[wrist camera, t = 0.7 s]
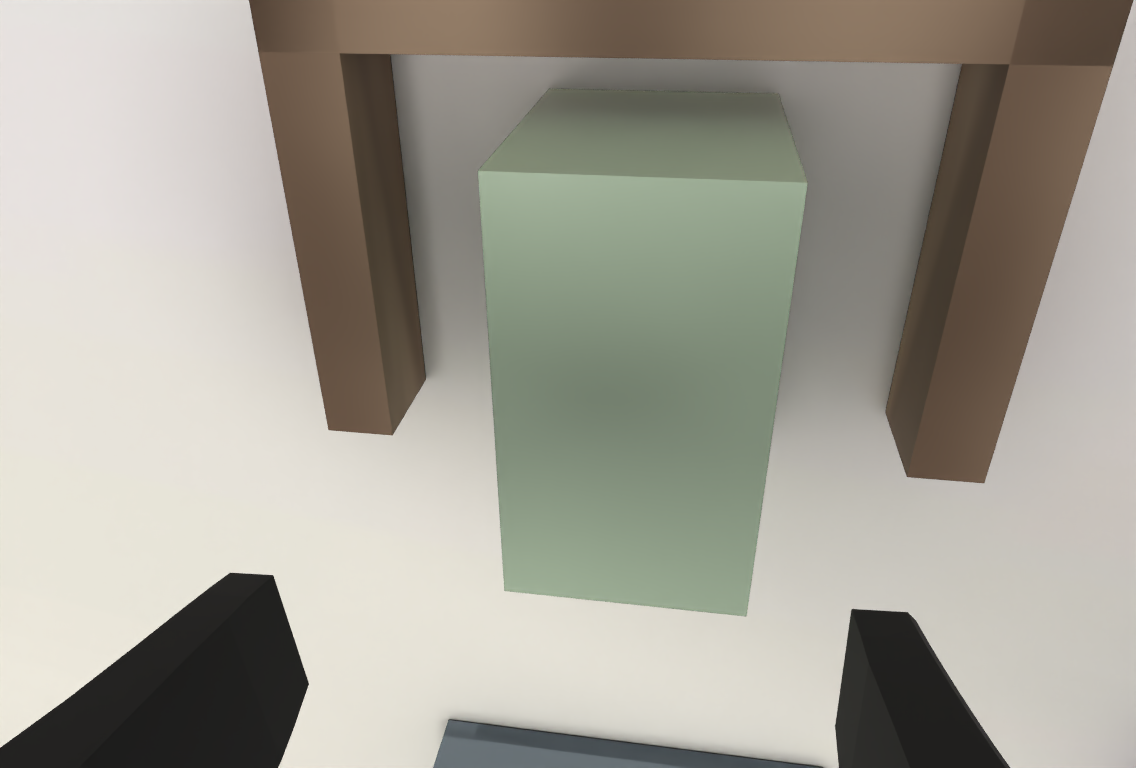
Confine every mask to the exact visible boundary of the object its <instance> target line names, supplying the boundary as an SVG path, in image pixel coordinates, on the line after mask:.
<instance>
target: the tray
mask: <svg viewBox="0 0 1136 768" xmlns="http://www.w3.org/2000/svg"><path fill="white" fill-rule="evenodd" d="M433 768H821V767H813V766H805V765H797V764H789V763H782V762H774V761H766V760H758V759H750V758H742V757H735V756H727V755H719V754H711V753H703V752H695V751H688V750H680V749H672V748H664V747H656V746H649V745H641V744H633V743H625V742H617V741H609V740H602V739H594V738H586V737H578V736H570V735H562V734H555V733H547V732H539V731H531V730H523V729H516V728H508V727H500V726H492V725H484V724H476V723H469V722H461V721H453V720H448V723H447V726H446V730H445V733H444V736H443V739H442V742H441V745H440V748H439V751H438V754H437V757H436V761H435V764H434V767H433Z"/></svg>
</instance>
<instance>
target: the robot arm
mask: <svg viewBox="0 0 1136 768" xmlns="http://www.w3.org/2000/svg"><path fill="white" fill-rule="evenodd" d="M308 685H309V683H308V680H307V677H306V674H305V671H304V668H303V665H302V662H301V659H300V655H299V652H298V649H297V646H296V643H295V640H294V637H293V634H292V631H291V628H290V625H289V622H288V619H287V616H286V613H285V610H284V607H283V604H282V601H281V598H280V595H279V592H278V589H277V586H276V583H275V579H274V576H273V575H259V574H242V573H229V574H228V575H227V576H225V577H224V578H222V579H221V580H220V581H218V582H217V583H216V584H214V585H213V586H212V587H210V588H209V589H208V590H206V591H205V592H204V593H202V594H201V595H200V596H198V597H197V598H196V599H195V600H193V601H192V602H191V603H189V604H188V605H187V606H186V607H184V608H183V609H182V610H181V611H179V612H178V613H177V614H175V615H174V616H173V617H172V618H170V619H169V620H168V621H167V622H165V623H164V624H163V625H162V626H160V627H159V628H158V629H156V630H155V631H154V632H153V633H151V634H150V635H149V636H148V637H146V638H145V639H144V640H143V641H141V642H140V643H139V644H138V645H136V646H135V647H134V648H132V649H131V650H130V651H129V652H127V653H126V654H125V655H123V656H122V657H121V658H120V659H118V660H117V661H116V662H114V663H113V664H112V665H111V666H109V667H108V668H107V669H105V670H104V671H103V672H102V673H100V674H99V675H98V676H96V677H95V678H94V679H93V680H91V681H90V682H89V683H87V684H86V685H85V686H84V687H82V688H81V689H80V690H78V691H77V692H76V693H75V694H73V695H72V696H71V697H69V698H68V699H67V700H65V701H64V702H63V703H61V704H60V705H58V706H57V707H56V708H54V709H53V710H52V711H50V712H49V713H47V714H46V715H45V716H43V717H42V718H41V719H39V720H38V721H36V722H35V723H34V724H32V725H31V726H30V727H28V728H27V729H25V730H24V731H23V732H21V733H20V734H19V735H17V736H16V737H14V738H13V739H12V740H10V741H9V742H8V743H6V744H5V745H3V746H2V747H1V748H0V768H278V766H279V764H280V762H281V760H282V757H283V755H284V752H285V749H286V747H287V744H288V742H289V739H290V736H291V734H292V731H293V728H294V726H295V723H296V720H297V717H298V714H299V711H300V708H301V705H302V702H303V699H304V696H305V694H306V691H307V688H308ZM835 729H836V740H837V751H838V762H839V768H1010V767H1009V765H1008V764H1007V763H1006V761H1005V760H1004V758H1003V757H1002V755H1001V754H1000V753H999V751H998V750H997V748H996V747H995V746H994V744H993V743H992V741H991V740H990V738H989V737H988V735H987V734H986V732H985V731H984V729H983V728H982V726H981V725H980V723H979V722H978V720H977V719H976V717H975V716H974V714H973V713H972V711H971V710H970V708H969V707H968V705H967V704H966V702H965V700H964V699H963V697H962V696H961V694H960V693H959V691H958V690H957V688H956V687H955V685H954V683H953V682H952V680H951V679H950V677H949V675H948V674H947V672H946V671H945V669H944V667H943V666H942V664H941V662H940V661H939V659H938V658H937V656H936V654H935V653H934V651H933V649H932V648H931V646H930V644H929V642H928V641H927V639H926V637H925V636H924V634H923V632H922V630H921V629H920V627H919V625H918V623H917V622H916V620H915V619H914V618H913V617H912V616H911V615H910V614H909V613H908V612H892V611H875V610H858V609H852V610H851V617H850V624H849V632H848V639H847V646H846V653H845V660H844V668H843V675H842V682H841V689H840V696H839V704H838V711H837V718H836V725H835Z"/></svg>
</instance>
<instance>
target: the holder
mask: <svg viewBox="0 0 1136 768" xmlns="http://www.w3.org/2000/svg"><path fill="white" fill-rule="evenodd" d="M249 3H250V8H251V14H252V19H253V25H254V30H255V35H256V41H257V46H258V52H259V57H260V62H261V68H262V73H263V79H264V84H265V89H266V95H267V100H268V106H269V111H270V116H271V122H272V127H273V133H274V138H275V143H276V149H277V154H278V160H279V165H280V170H281V176H282V181H283V187H284V192H285V197H286V203H287V208H288V214H289V219H290V224H291V230H292V235H293V241H294V246H295V251H296V257H297V262H298V268H299V273H300V278H301V284H302V289H303V295H304V300H305V305H306V311H307V316H308V322H309V327H310V332H311V338H312V343H313V349H314V354H315V359H316V365H317V370H318V376H319V381H320V386H321V392H322V397H323V403H324V408H325V413H326V419H327V424H328V430H334V431H346V432H358V433H371V434H383V435H393V434H394V432H395V430H396V429H397V427H398V425H399V424H400V422H401V420H402V419H403V417H404V415H405V414H406V412H407V410H408V408H409V407H410V405H411V403H412V402H413V400H414V398H415V397H416V395H417V393H418V392H419V390H420V388H421V387H422V385H423V383H424V382H425V380H426V377H425V368H424V359H423V350H422V341H421V331H420V322H419V313H418V304H417V295H416V286H415V277H414V268H413V259H412V249H411V240H410V231H409V222H408V213H407V204H406V195H405V186H404V177H403V167H402V158H401V149H400V140H399V131H398V122H397V113H396V104H395V94H394V85H393V76H392V67H391V58H390V54H416V55H476V56H535V57H595V58H654V59H714V60H773V61H833V62H892V63H952V64H962V68H961V73H960V77H959V82H958V86H957V91H956V95H955V100H954V104H953V109H952V114H951V118H950V123H949V127H948V132H947V136H946V141H945V145H944V150H943V154H942V159H941V163H940V168H939V172H938V177H937V181H936V186H935V190H934V195H933V199H932V204H931V208H930V213H929V217H928V222H927V227H926V231H925V236H924V240H923V245H922V249H921V254H920V258H919V263H918V267H917V272H916V276H915V281H914V285H913V290H912V294H911V299H910V303H909V308H908V312H907V317H906V321H905V326H904V330H903V335H902V339H901V344H900V349H899V353H898V358H897V362H896V367H895V371H894V376H893V380H892V385H891V389H890V394H889V398H888V403H887V407H886V412H885V413H886V416H887V419H888V422H889V425H890V428H891V431H892V434H893V437H894V440H895V443H896V446H897V449H898V452H899V455H900V458H901V461H902V464H903V467H904V470H905V472H906V475H907V477H914V478H926V479H938V480H951V481H963V482H975V483H984V482H985V479H986V476H987V472H988V469H989V466H990V463H991V459H992V456H993V453H994V450H995V446H996V443H997V440H998V437H999V434H1000V430H1001V427H1002V424H1003V421H1004V417H1005V414H1006V411H1007V408H1008V404H1009V401H1010V398H1011V395H1012V391H1013V388H1014V385H1015V382H1016V379H1017V375H1018V372H1019V369H1020V366H1021V362H1022V359H1023V356H1024V353H1025V349H1026V346H1027V343H1028V340H1029V336H1030V333H1031V330H1032V327H1033V323H1034V320H1035V317H1036V314H1037V311H1038V307H1039V304H1040V301H1041V298H1042V294H1043V291H1044V288H1045V285H1046V281H1047V278H1048V275H1049V272H1050V268H1051V265H1052V262H1053V259H1054V255H1055V252H1056V249H1057V246H1058V243H1059V239H1060V236H1061V233H1062V230H1063V226H1064V223H1065V220H1066V217H1067V213H1068V210H1069V207H1070V204H1071V200H1072V197H1073V194H1074V191H1075V187H1076V184H1077V181H1078V178H1079V175H1080V171H1081V168H1082V165H1083V162H1084V158H1085V155H1086V152H1087V149H1088V145H1089V142H1090V139H1091V136H1092V132H1093V129H1094V126H1095V123H1096V120H1097V116H1098V113H1099V110H1100V107H1101V103H1102V100H1103V97H1104V94H1105V90H1106V87H1107V84H1108V81H1109V77H1110V74H1111V71H1112V68H1113V64H1114V61H1115V58H1116V55H1117V52H1118V48H1119V45H1120V42H1121V39H1122V35H1123V32H1124V29H1125V26H1126V22H1127V19H1128V16H1129V13H1130V9H1131V6H1132V3H1133V0H249Z"/></svg>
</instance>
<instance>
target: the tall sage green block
mask: <svg viewBox="0 0 1136 768" xmlns="http://www.w3.org/2000/svg"><path fill="white" fill-rule="evenodd" d="M478 180H479V196H480V212H481V228H482V244H483V259H484V275H485V291H486V307H487V323H488V339H489V354H490V370H491V386H492V402H493V418H494V434H495V449H496V465H497V481H498V497H499V513H500V528H501V544H502V560H503V576H504V591H510V592H520V593H529V594H538V595H548V596H557V597H567V598H576V599H586V600H595V601H605V602H614V603H624V604H633V605H643V606H652V607H662V608H671V609H681V610H690V611H699V612H709V613H718V614H728V615H737V616H747V609H748V602H749V595H750V588H751V581H752V574H753V566H754V559H755V552H756V545H757V538H758V531H759V524H760V517H761V510H762V503H763V496H764V489H765V482H766V474H767V467H768V460H769V453H770V446H771V439H772V432H773V425H774V418H775V411H776V404H777V397H778V390H779V383H780V375H781V368H782V361H783V354H784V347H785V340H786V333H787V326H788V319H789V312H790V305H791V298H792V291H793V284H794V276H795V269H796V262H797V255H798V248H799V241H800V234H801V227H802V220H803V213H804V206H805V199H806V192H807V185H808V182H807V179H806V176H805V173H804V170H803V167H802V164H801V161H800V158H799V155H798V152H797V149H796V146H795V143H794V140H793V137H792V134H791V131H790V128H789V125H788V122H787V119H786V116H785V113H784V110H783V107H782V104H781V101H780V98H779V95H778V94H775V93H730V92H685V91H640V90H594V89H549V90H548V91H547V92H546V93H545V94H544V95H543V97H542V98H541V99H540V100H539V101H538V102H537V103H536V105H535V106H534V107H533V108H532V109H531V110H530V112H529V113H528V114H527V115H526V116H525V117H524V118H523V120H522V121H521V122H520V123H519V124H518V125H517V126H516V128H515V129H514V130H513V131H512V132H511V133H510V135H509V136H508V137H507V138H506V139H505V140H504V141H503V143H502V144H501V145H500V146H499V147H498V148H497V150H496V151H495V152H494V153H493V154H492V155H491V156H490V158H489V159H488V160H487V161H486V162H485V163H484V164H483V166H482V167H481V168H480V169H479V170H478Z"/></svg>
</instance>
